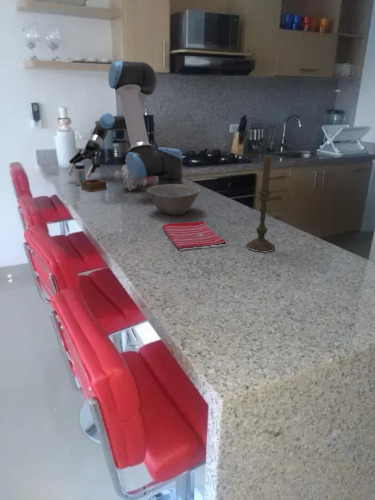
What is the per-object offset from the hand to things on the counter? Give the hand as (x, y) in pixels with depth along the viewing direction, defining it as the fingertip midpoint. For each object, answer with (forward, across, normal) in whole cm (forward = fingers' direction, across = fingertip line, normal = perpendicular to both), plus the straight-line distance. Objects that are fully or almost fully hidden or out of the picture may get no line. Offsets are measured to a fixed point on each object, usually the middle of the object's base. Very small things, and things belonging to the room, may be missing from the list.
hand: (78, 175), depth 212 cm
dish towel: (+38, -92, +30) cm, 104 cm away
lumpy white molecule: (-4, -32, -12) cm, 34 cm away
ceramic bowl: (+21, -72, +13) cm, 76 cm away
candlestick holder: (+37, -116, +30) cm, 126 cm away
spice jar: (+3, 0, -5) cm, 6 cm away
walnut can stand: (+6, -13, -1) cm, 15 cm away
